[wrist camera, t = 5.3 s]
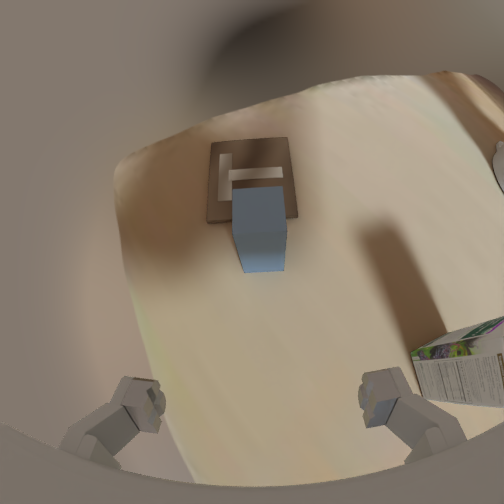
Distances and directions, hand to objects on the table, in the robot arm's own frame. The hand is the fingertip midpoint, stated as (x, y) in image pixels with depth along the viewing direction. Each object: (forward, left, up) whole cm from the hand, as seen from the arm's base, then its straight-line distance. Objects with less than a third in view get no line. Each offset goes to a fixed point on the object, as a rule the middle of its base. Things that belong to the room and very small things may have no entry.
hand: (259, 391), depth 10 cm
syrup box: (-18, +2, -17) cm, 25 cm away
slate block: (0, -12, -16) cm, 21 cm away
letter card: (+1, -22, -16) cm, 28 cm away
